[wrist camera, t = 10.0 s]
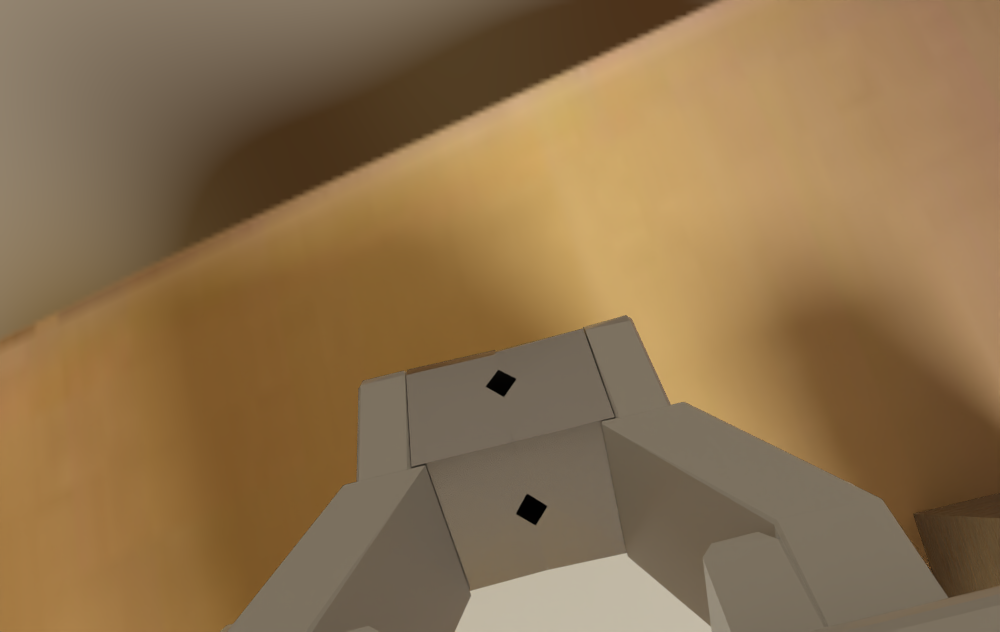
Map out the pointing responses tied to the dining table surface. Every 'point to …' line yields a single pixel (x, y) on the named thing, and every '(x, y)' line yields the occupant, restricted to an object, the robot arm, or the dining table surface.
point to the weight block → (963, 544)
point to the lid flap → (579, 602)
